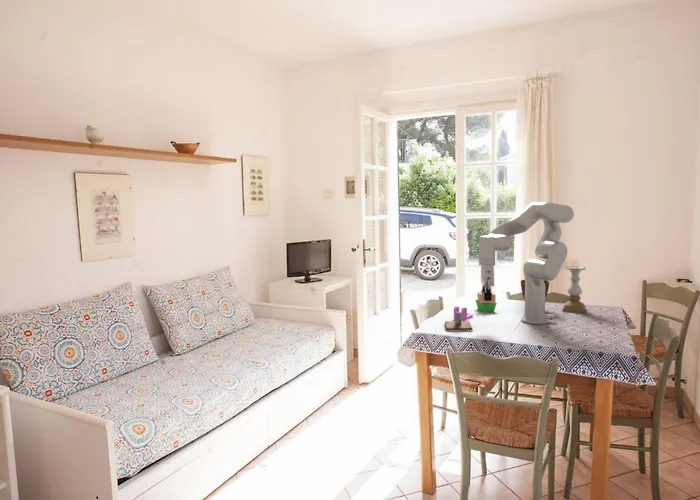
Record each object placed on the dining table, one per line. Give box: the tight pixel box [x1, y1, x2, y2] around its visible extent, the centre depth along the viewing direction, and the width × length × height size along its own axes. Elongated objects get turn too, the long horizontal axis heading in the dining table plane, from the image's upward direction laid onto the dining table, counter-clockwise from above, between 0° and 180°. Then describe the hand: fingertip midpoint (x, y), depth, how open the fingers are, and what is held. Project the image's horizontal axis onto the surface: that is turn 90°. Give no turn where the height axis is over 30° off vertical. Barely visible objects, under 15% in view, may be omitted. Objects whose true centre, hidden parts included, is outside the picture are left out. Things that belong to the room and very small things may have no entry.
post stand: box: [444, 311, 473, 332], centre depth 238 cm, size 12×12×8 cm
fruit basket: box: [475, 290, 498, 313], centre depth 271 cm, size 11×9×11 cm
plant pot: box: [520, 279, 550, 302], centre depth 270 cm, size 15×15×16 cm
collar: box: [477, 291, 496, 303], centre depth 233 cm, size 7×7×4 cm
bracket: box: [453, 305, 474, 321], centre depth 256 cm, size 13×6×7 cm, turn 142°
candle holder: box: [562, 265, 587, 314], centre depth 267 cm, size 11×11×24 cm
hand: (486, 298), depth 233 cm, fingers closed on collar, 7 cm apart
